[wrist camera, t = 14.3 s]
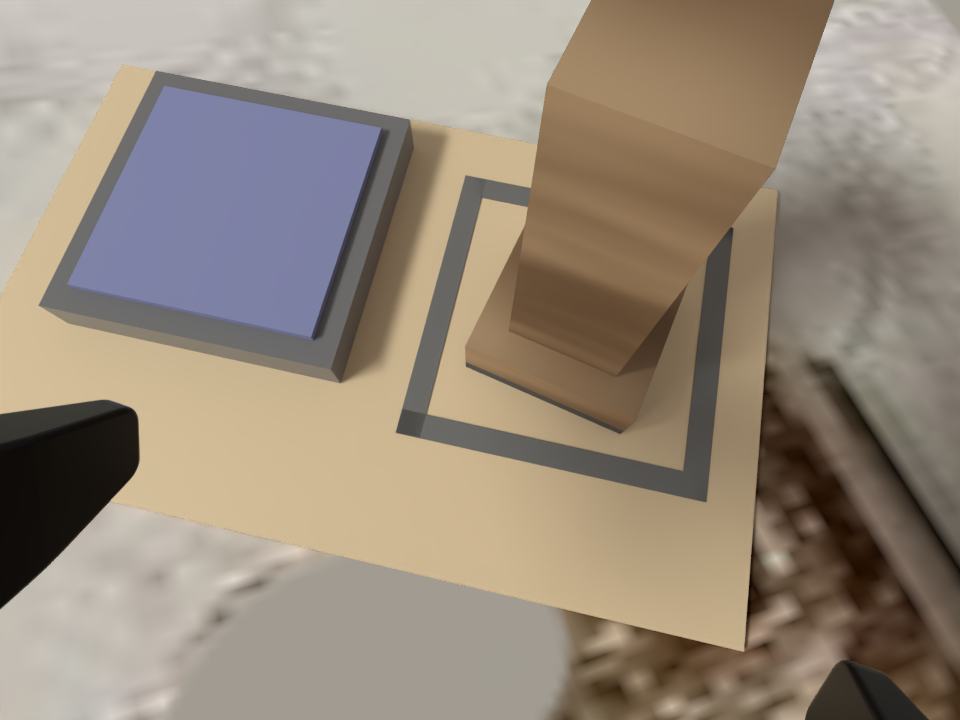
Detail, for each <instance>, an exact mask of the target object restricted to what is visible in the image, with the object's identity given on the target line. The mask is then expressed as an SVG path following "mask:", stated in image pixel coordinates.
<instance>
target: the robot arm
mask: <svg viewBox="0 0 960 720" xmlns="http://www.w3.org/2000/svg"><path fill="white" fill-rule="evenodd" d="M139 462H140V446H139V419H138V415H137V413H136V411H135V410H134V409H132V408H131V407H128V406H125V405H123V404H120V403H117V402H114V401H111V400H105V399H103V400H95V401H88V402H81V403H74V404H67V405H60V406H53V407H46V408H39V409H32V410H25V411H18V412H11V413H4V414H0V609H1V608H2V607H4V606H5V605H6V604H7V603H8V602H9V601H10V600H11V599H13V598H14V597H15V596H16V595H17V594H18V593H19V592H20V591H22V590H23V589H24V588H25V587H26V586H27V585H28V584H29V583H31V582H32V581H33V580H34V579H35V578H36V577H37V576H38V575H39V574H40V573H41V572H42V571H43V570H44V569H46V568H47V567H48V566H49V565H50V564H51V563H52V562H53V561H54V560H55V559H56V558H57V557H58V556H59V554H60V553H61V552H62V551H63V550H64V549H65V548H66V547H67V546H68V545H69V544H70V543H71V542H72V541H73V540H74V539H75V538H76V537H77V536H78V535H79V533H80V532H81V531H82V530H83V529H84V528H85V527H86V526H87V525H88V524H89V523H90V522H91V521H92V520H93V519H94V518H95V517H96V515H97V514H98V513H99V512H100V511H101V510H102V509H103V508H104V507H105V506H106V505H107V504H108V503H109V502H110V501H111V500H112V499H113V497H114V496H115V495H116V494H117V493H118V492H119V491H120V490H121V489H122V488H123V487H124V486H125V485H126V484H127V483H128V482H129V481H130V479H131V478H132V477H133V476H134V474H135V472H136V470H137V468H138V466H139ZM805 720H929V719H928V718H927V717H926V716H925V715H924V714H923V713H922V712H921V711H920V710H919V709H918V708H917V707H916V706H915V704H914V703H913V702H912V701H911V700H910V699H909V698H908V697H907V696H906V695H905V694H904V693H903V692H902V691H901V689H900V688H899V687H898V686H897V685H896V684H895V683H894V682H893V681H892V680H891V679H890V678H889V677H888V676H887V675H886V674H884V673H883V672H881V671H879V670H876V669H873V668H870V667H867V666H865V665H862V664H859V663H856V662H853V661H850V660H843V661H840V662H839V663H837V664H836V665H835V666H834V668H833V669H832V671H831V672H830V674H829V675H828V677H827V679H826V680H825V682H824V683H823V685H822V686H821V688H820V690H819V691H818V693H817V694H816V696H815V698H814V699H813V701H812V702H811V704H810V706H809V708H808V710H807V713H806V718H805Z"/></svg>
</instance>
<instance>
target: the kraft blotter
mask: <svg viewBox="0 0 960 720" xmlns="http://www.w3.org/2000/svg"><path fill="white" fill-rule="evenodd" d="M155 72H156V71H153V70H148V69H143V68H138V67H133V66H127V65H122V66H121V68H120V70H119V72H118V74H117V76H116V77H115V79H114V81H113V83H112V85H111V87H110V89H109V91H108V93H107V95H106V96H105V98H104V100H103V102H102V104H101V106H100V108H99V110H98V112H97V114H96V115H95V117H94V119H93V121H92V123H91V125H90V127H89V129H88V131H87V133H86V134H85V136H84V138H83V140H82V142H81V144H80V146H79V148H78V150H77V152H76V153H75V155H74V157H73V159H72V161H71V163H70V165H69V167H68V169H67V171H66V172H65V174H64V176H63V178H62V180H61V182H60V184H59V186H58V188H57V190H56V191H55V193H54V195H53V197H52V199H51V201H50V203H49V205H48V207H47V209H46V210H45V212H44V214H43V216H42V218H41V220H40V222H39V224H38V226H37V228H36V229H35V231H34V233H33V235H32V237H31V239H30V241H29V243H28V245H27V247H26V249H25V250H24V252H23V254H22V256H21V258H20V260H19V262H18V264H17V266H16V268H15V269H14V271H13V273H12V275H11V277H10V279H9V281H8V283H7V285H6V287H5V288H4V290H3V292H2V294H1V296H0V414H4V413H11V412H18V411H25V410H32V409H39V408H46V407H53V406H60V405H67V404H74V403H81V402H88V401H95V400H103V399H105V400H111V401H114V402H117V403H120V404H123V405H125V406H128V407H131V408H132V409H134V410H135V411H136V413H137V415H138V419H139V446H140V462H139V466H138V468H137V470H136V472H135V474H134V476H133V477H132V478H131V479H130V481H129V482H128V483H127V484H126V485H125V486H124V487H123V488H122V489H121V490H120V491H119V492H118V493H117V494H116V495H115V496H114V497H113V499H112V500H111V502H115V503H119V504H124V505H128V506H132V507H136V508H141V509H145V510H149V511H153V512H157V513H162V514H166V515H170V516H174V517H178V518H183V519H187V520H191V521H195V522H199V523H204V524H208V525H212V526H216V527H221V528H225V529H229V530H233V531H237V532H242V533H246V534H250V535H254V536H258V537H263V538H267V539H271V540H275V541H279V542H284V543H288V544H292V545H296V546H301V547H305V548H309V549H313V550H317V551H322V552H326V553H330V554H334V555H338V556H343V557H347V558H351V559H355V560H359V561H364V562H368V563H372V564H377V565H381V566H385V567H389V568H393V569H397V570H402V571H406V572H410V573H414V574H418V575H423V576H427V577H431V578H436V579H440V580H444V581H448V582H452V583H456V584H461V585H465V586H469V587H473V588H478V589H482V590H486V591H490V592H494V593H499V594H503V595H507V596H511V597H515V598H520V599H524V600H528V601H532V602H536V603H541V604H545V605H549V606H553V607H557V608H562V609H566V610H570V611H574V612H578V613H583V614H587V615H591V616H595V617H600V618H604V619H608V620H612V621H616V622H621V623H625V624H629V625H633V626H637V627H642V628H646V629H650V630H654V631H658V632H663V633H667V634H671V635H675V636H680V637H684V638H688V639H692V640H696V641H701V642H705V643H709V644H713V645H717V646H722V647H726V648H730V649H734V650H738V651H743V652H744V644H745V630H746V617H747V603H748V589H749V576H750V562H751V549H752V535H753V521H754V508H755V494H756V481H757V467H758V453H759V440H760V426H761V413H762V399H763V385H764V372H765V358H766V345H767V331H768V317H769V304H770V290H771V277H772V263H773V249H774V236H775V222H776V209H777V195H778V191H777V190H772V189H767V188H762V187H761V188H760V189H759V191H758V192H757V193H756V195H755V196H754V197H753V199H752V200H751V201H750V203H749V204H748V205H747V206H746V208H745V209H744V210H743V212H742V213H741V214H740V216H739V217H738V218H737V219H736V221H735V222H734V223H733V225H732V226H731V227H730V229H729V230H728V231H727V233H726V234H725V235H724V236H723V238H722V239H721V240H720V242H719V243H718V244H717V246H716V247H715V248H714V249H713V251H712V252H711V253H710V255H709V256H708V257H707V259H706V260H705V261H704V263H703V264H702V265H701V266H700V268H699V269H698V270H697V272H696V273H695V274H694V276H693V277H692V278H691V280H690V281H689V282H688V285H687V287H686V290H685V293H684V295H683V298H682V301H681V303H680V306H679V309H678V311H677V314H676V317H675V319H674V322H673V324H672V327H671V330H670V332H669V335H668V338H667V340H666V343H665V346H664V348H663V351H662V353H661V356H660V359H659V361H658V364H657V367H656V369H655V372H654V375H653V377H652V380H651V382H650V385H649V388H648V390H647V393H646V396H645V398H644V401H643V404H642V406H641V409H640V412H639V414H638V417H637V419H636V421H635V422H634V423H633V424H631V425H630V426H629V427H628V428H627V429H626V430H625V431H623V432H622V433H621V434H618V433H616V432H614V431H612V430H609V429H607V428H605V427H602V426H600V425H598V424H596V423H593V422H591V421H589V420H586V419H584V418H582V417H580V416H577V415H575V414H573V413H570V412H568V411H566V410H564V409H561V408H559V407H557V406H554V405H552V404H550V403H548V402H545V401H543V400H541V399H538V398H536V397H534V396H532V395H529V394H527V393H525V392H522V391H520V390H518V389H516V388H513V387H511V386H509V385H506V384H504V383H502V382H500V381H497V380H495V379H493V378H490V377H488V376H486V375H484V374H481V373H479V372H477V371H474V370H472V369H470V368H468V367H466V360H465V345H466V343H467V341H468V339H469V337H470V335H471V333H472V331H473V329H474V327H475V325H476V323H477V321H478V319H479V317H480V315H481V313H482V311H483V309H484V307H485V305H486V303H487V301H488V299H489V297H490V295H491V293H492V291H493V289H494V287H495V285H496V282H497V280H498V278H499V276H500V274H501V272H502V270H503V268H504V266H505V264H506V262H507V260H508V258H509V256H510V254H511V252H512V250H513V248H514V246H515V244H516V242H517V240H518V238H519V236H520V234H521V232H522V230H523V228H524V226H525V222H526V216H527V209H528V203H529V196H530V190H531V184H532V177H533V171H534V164H535V158H536V152H537V145H538V144H533V143H528V142H523V141H517V140H512V139H507V138H502V137H497V136H491V135H486V134H481V133H476V132H471V131H465V130H460V129H455V128H450V127H445V126H439V125H434V124H429V123H424V122H419V121H413V120H410V123H411V130H412V137H413V144H414V149H413V152H412V155H411V158H410V162H409V165H408V168H407V171H406V175H405V178H404V181H403V184H402V187H401V191H400V194H399V197H398V200H397V204H396V207H395V210H394V213H393V217H392V220H391V223H390V226H389V229H388V233H387V236H386V239H385V242H384V246H383V249H382V252H381V255H380V258H379V262H378V265H377V268H376V271H375V275H374V278H373V281H372V284H371V287H370V291H369V294H368V297H367V300H366V304H365V307H364V310H363V313H362V317H361V320H360V323H359V326H358V329H357V333H356V336H355V339H354V342H353V346H352V349H351V352H350V355H349V358H348V362H347V365H346V368H345V371H344V375H343V378H342V381H341V383H336V382H331V381H327V380H322V379H318V378H313V377H309V376H304V375H300V374H295V373H291V372H286V371H282V370H277V369H272V368H268V367H263V366H259V365H254V364H250V363H245V362H241V361H236V360H232V359H227V358H222V357H218V356H213V355H209V354H204V353H200V352H195V351H191V350H186V349H182V348H177V347H173V346H168V345H163V344H159V343H154V342H150V341H145V340H141V339H136V338H132V337H127V336H123V335H118V334H113V333H109V332H104V331H100V330H95V329H91V328H86V327H82V326H77V325H73V324H68V323H67V322H65V321H63V320H62V319H60V318H58V317H57V316H55V315H53V314H52V313H50V312H48V311H47V310H45V309H43V308H41V307H40V306H38V305H39V303H40V301H41V299H42V297H43V295H44V293H45V291H46V289H47V287H48V285H49V283H50V281H51V279H52V277H53V275H54V273H55V271H56V269H57V267H58V265H59V263H60V261H61V259H62V257H63V255H64V253H65V251H66V249H67V247H68V245H69V243H70V241H71V240H72V238H73V236H74V234H75V232H76V230H77V228H78V226H79V224H80V222H81V220H82V218H83V216H84V214H85V212H86V210H87V208H88V206H89V204H90V202H91V200H92V198H93V196H94V194H95V192H96V190H97V188H98V186H99V184H100V182H101V180H102V178H103V176H104V174H105V172H106V170H107V168H108V166H109V164H110V162H111V160H112V158H113V156H114V154H115V152H116V150H117V148H118V146H119V144H120V142H121V140H122V138H123V136H124V134H125V132H126V130H127V128H128V126H129V124H130V122H131V120H132V118H133V116H134V114H135V112H136V110H137V108H138V106H139V104H140V102H141V100H142V98H143V96H144V94H145V92H146V90H147V88H148V86H149V84H150V82H151V80H152V78H153V76H154V74H155Z"/></svg>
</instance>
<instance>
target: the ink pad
mask: <svg viewBox="0 0 960 720" xmlns="http://www.w3.org/2000/svg"><path fill="white" fill-rule="evenodd" d="M413 149H414V144H413V137H412V130H411V123H410V120H409V119H403V118H398V117H393V116H388V115H383V114H377V113H372V112H367V111H362V110H357V109H351V108H346V107H341V106H336V105H331V104H325V103H320V102H315V101H310V100H305V99H299V98H294V97H289V96H284V95H279V94H273V93H268V92H263V91H258V90H253V89H247V88H242V87H237V86H232V85H227V84H221V83H216V82H211V81H206V80H201V79H195V78H190V77H185V76H180V75H175V74H169V73H164V72H159V71H156V72H155V74H154V76H153V78H152V80H151V82H150V84H149V86H148V88H147V90H146V92H145V94H144V96H143V98H142V100H141V102H140V104H139V106H138V108H137V110H136V112H135V114H134V116H133V118H132V120H131V122H130V124H129V126H128V128H127V130H126V132H125V134H124V136H123V138H122V140H121V142H120V144H119V146H118V148H117V150H116V152H115V154H114V156H113V158H112V160H111V162H110V164H109V166H108V168H107V170H106V172H105V174H104V176H103V178H102V180H101V182H100V184H99V186H98V188H97V190H96V192H95V194H94V196H93V198H92V200H91V202H90V204H89V206H88V208H87V210H86V212H85V214H84V216H83V218H82V220H81V222H80V224H79V226H78V228H77V230H76V232H75V234H74V236H73V238H72V240H71V241H70V243H69V245H68V247H67V249H66V251H65V253H64V255H63V257H62V259H61V261H60V263H59V265H58V267H57V269H56V271H55V273H54V275H53V277H52V279H51V281H50V283H49V285H48V287H47V289H46V291H45V293H44V295H43V297H42V299H41V301H40V303H39V305H38V306H40V307H41V308H43V309H45V310H47V311H48V312H50V313H52V314H53V315H55V316H57V317H58V318H60V319H62V320H63V321H65V322H67V323H68V324H73V325H77V326H82V327H86V328H91V329H95V330H100V331H104V332H109V333H113V334H118V335H123V336H127V337H132V338H136V339H141V340H145V341H150V342H154V343H159V344H163V345H168V346H173V347H177V348H182V349H186V350H191V351H195V352H200V353H204V354H209V355H213V356H218V357H222V358H227V359H232V360H236V361H241V362H245V363H250V364H254V365H259V366H263V367H268V368H272V369H277V370H282V371H286V372H291V373H295V374H300V375H304V376H309V377H313V378H318V379H322V380H327V381H331V382H336V383H341V381H342V378H343V375H344V371H345V368H346V365H347V362H348V358H349V355H350V352H351V349H352V346H353V342H354V339H355V336H356V333H357V329H358V326H359V323H360V320H361V317H362V313H363V310H364V307H365V304H366V300H367V297H368V294H369V291H370V287H371V284H372V281H373V278H374V275H375V271H376V268H377V265H378V262H379V258H380V255H381V252H382V249H383V246H384V242H385V239H386V236H387V233H388V229H389V226H390V223H391V220H392V217H393V213H394V210H395V207H396V204H397V200H398V197H399V194H400V191H401V187H402V184H403V181H404V178H405V175H406V171H407V168H408V165H409V162H410V158H411V155H412V152H413Z"/></svg>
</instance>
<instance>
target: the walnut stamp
mask: <svg viewBox="0 0 960 720" xmlns="http://www.w3.org/2000/svg"><path fill="white" fill-rule="evenodd" d="M833 3H834V0H591V2H590V4H589V6H588V7H587V9H586V11H585V13H584V15H583V17H582V19H581V21H580V23H579V25H578V27H577V28H576V30H575V32H574V34H573V36H572V38H571V40H570V42H569V44H568V46H567V47H566V49H565V51H564V53H563V55H562V57H561V59H560V61H559V63H558V65H557V66H556V68H555V70H554V72H553V74H552V76H551V78H550V80H549V82H548V84H547V87H546V94H545V100H544V107H543V113H542V119H541V126H540V132H539V139H538V145H537V152H536V158H535V164H534V171H533V177H532V184H531V190H530V196H529V203H528V209H527V216H526V222H525V226H524V228H523V230H522V232H521V234H520V236H519V238H518V240H517V242H516V244H515V246H514V248H513V250H512V252H511V254H510V256H509V258H508V260H507V262H506V264H505V266H504V268H503V270H502V272H501V274H500V276H499V278H498V280H497V282H496V285H495V287H494V289H493V291H492V293H491V295H490V297H489V299H488V301H487V303H486V305H485V307H484V309H483V311H482V313H481V315H480V317H479V319H478V321H477V323H476V325H475V327H474V329H473V331H472V333H471V335H470V337H469V339H468V341H467V343H466V345H465V360H466V367H468V368H470V369H472V370H474V371H477V372H479V373H481V374H484V375H486V376H488V377H490V378H493V379H495V380H497V381H500V382H502V383H504V384H506V385H509V386H511V387H513V388H516V389H518V390H520V391H522V392H525V393H527V394H529V395H532V396H534V397H536V398H538V399H541V400H543V401H545V402H548V403H550V404H552V405H554V406H557V407H559V408H561V409H564V410H566V411H568V412H570V413H573V414H575V415H577V416H580V417H582V418H584V419H586V420H589V421H591V422H593V423H596V424H598V425H600V426H602V427H605V428H607V429H609V430H612V431H614V432H616V433H618V434H621V433H622V432H623V431H625V430H626V429H627V428H628V427H629V426H630V425H631V424H633V423H634V422H635V421H636V419H637V417H638V414H639V412H640V409H641V406H642V404H643V401H644V398H645V396H646V393H647V390H648V388H649V385H650V382H651V380H652V377H653V375H654V372H655V369H656V367H657V364H658V361H659V359H660V356H661V353H662V351H663V348H664V346H665V343H666V340H667V338H668V335H669V332H670V330H671V327H672V324H673V322H674V319H675V317H676V314H677V311H678V309H679V306H680V303H681V301H682V298H683V295H684V293H685V290H686V287H687V285H688V282H689V281H690V280H691V278H692V277H693V276H694V274H695V273H696V272H697V270H698V269H699V268H700V266H701V265H702V264H703V263H704V261H705V260H706V259H707V257H708V256H709V255H710V253H711V252H712V251H713V249H714V248H715V247H716V246H717V244H718V243H719V242H720V240H721V239H722V238H723V236H724V235H725V234H726V233H727V231H728V230H729V229H730V227H731V226H732V225H733V223H734V222H735V221H736V219H737V218H738V217H739V216H740V214H741V213H742V212H743V210H744V209H745V208H746V206H747V205H748V204H749V203H750V201H751V200H752V199H753V197H754V196H755V195H756V193H757V192H758V191H759V189H760V188H761V187H762V186H763V184H764V183H765V182H766V180H767V179H768V178H769V176H770V175H771V174H772V173H773V171H774V170H775V168H776V166H777V163H778V160H779V157H780V154H781V151H782V148H783V146H784V143H785V140H786V137H787V134H788V131H789V128H790V126H791V123H792V120H793V117H794V114H795V111H796V109H797V106H798V103H799V100H800V97H801V94H802V91H803V89H804V86H805V83H806V80H807V77H808V74H809V71H810V69H811V66H812V63H813V60H814V57H815V54H816V51H817V49H818V46H819V43H820V40H821V37H822V34H823V32H824V29H825V26H826V23H827V20H828V17H829V14H830V12H831V9H832V6H833Z"/></svg>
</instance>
